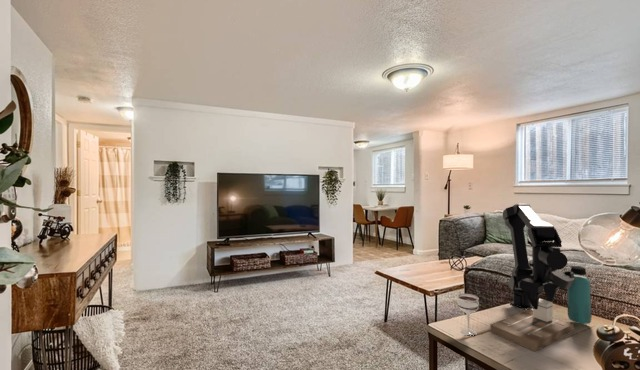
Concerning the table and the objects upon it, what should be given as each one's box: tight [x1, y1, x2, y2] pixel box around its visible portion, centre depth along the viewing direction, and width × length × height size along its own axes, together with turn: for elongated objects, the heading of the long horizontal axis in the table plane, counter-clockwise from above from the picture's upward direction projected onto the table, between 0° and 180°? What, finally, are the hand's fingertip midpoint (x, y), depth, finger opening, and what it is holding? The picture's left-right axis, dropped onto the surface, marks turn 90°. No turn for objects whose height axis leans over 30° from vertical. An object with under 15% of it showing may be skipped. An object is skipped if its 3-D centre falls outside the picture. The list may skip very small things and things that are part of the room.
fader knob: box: [532, 297, 554, 322], centre depth 109 cm, size 4×4×6 cm
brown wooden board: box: [489, 308, 574, 352], centre depth 106 cm, size 23×14×3 cm, turn 118°
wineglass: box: [456, 293, 480, 337], centre depth 106 cm, size 7×7×12 cm
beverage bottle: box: [566, 265, 593, 325], centre depth 110 cm, size 6×7×20 cm
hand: (542, 306), depth 109 cm, fingers open, 9 cm apart
